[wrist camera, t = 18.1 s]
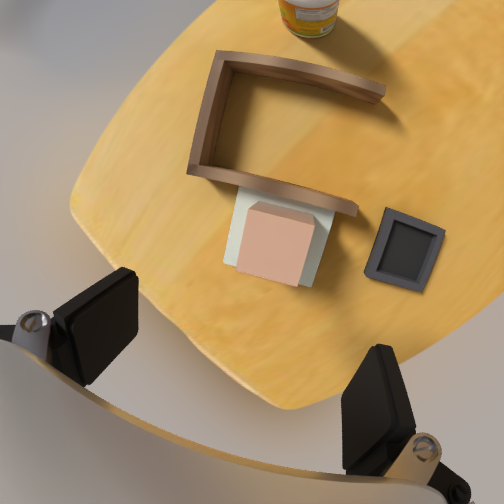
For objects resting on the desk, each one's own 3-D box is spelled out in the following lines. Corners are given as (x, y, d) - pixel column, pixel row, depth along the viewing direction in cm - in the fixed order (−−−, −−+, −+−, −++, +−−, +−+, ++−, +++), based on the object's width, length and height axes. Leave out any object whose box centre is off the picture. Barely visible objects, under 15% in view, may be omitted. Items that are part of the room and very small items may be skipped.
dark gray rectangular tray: (440, 227, 23) (445, 230, 22) (417, 287, 25) (421, 292, 24) (385, 206, 24) (389, 208, 23) (363, 272, 26) (365, 276, 25)
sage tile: (334, 206, 25) (336, 208, 23) (310, 281, 27) (311, 287, 26) (243, 182, 26) (239, 183, 24) (227, 258, 28) (223, 262, 27)
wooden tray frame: (376, 95, 21) (386, 86, 17) (348, 210, 25) (355, 217, 21) (226, 62, 22) (216, 50, 19) (200, 172, 26) (186, 174, 23)
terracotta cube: (312, 214, 24) (314, 225, 19) (298, 264, 26) (297, 287, 21) (258, 200, 24) (248, 208, 20) (247, 251, 26) (235, 270, 21)
